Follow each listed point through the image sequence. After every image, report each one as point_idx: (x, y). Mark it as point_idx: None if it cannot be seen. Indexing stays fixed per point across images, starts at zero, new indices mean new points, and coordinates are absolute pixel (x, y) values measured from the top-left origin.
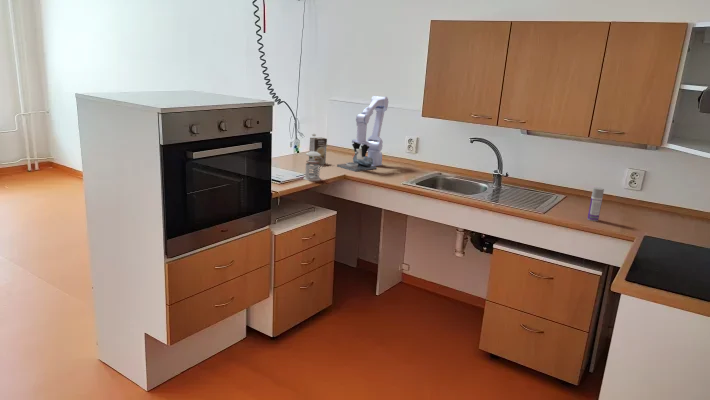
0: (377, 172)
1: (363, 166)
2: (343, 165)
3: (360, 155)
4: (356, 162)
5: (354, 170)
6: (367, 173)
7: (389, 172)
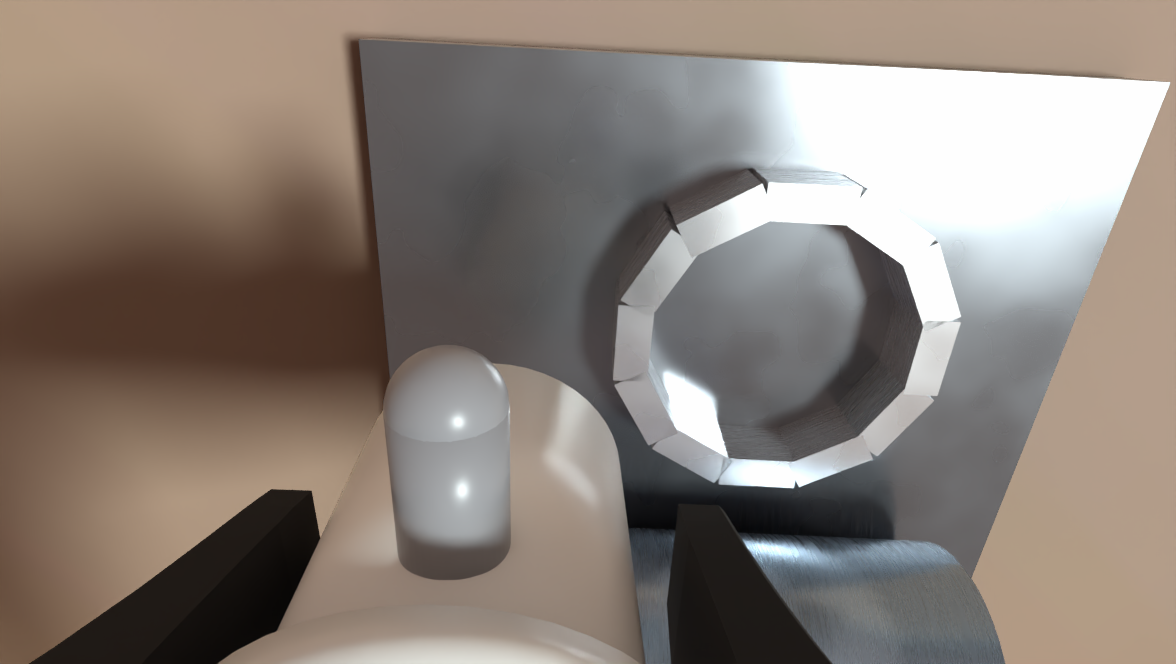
0: (136, 429)
1: None
2: (948, 153)
3: (348, 496)
4: (822, 537)
5: (407, 41)
6: (86, 162)
7: (86, 597)
